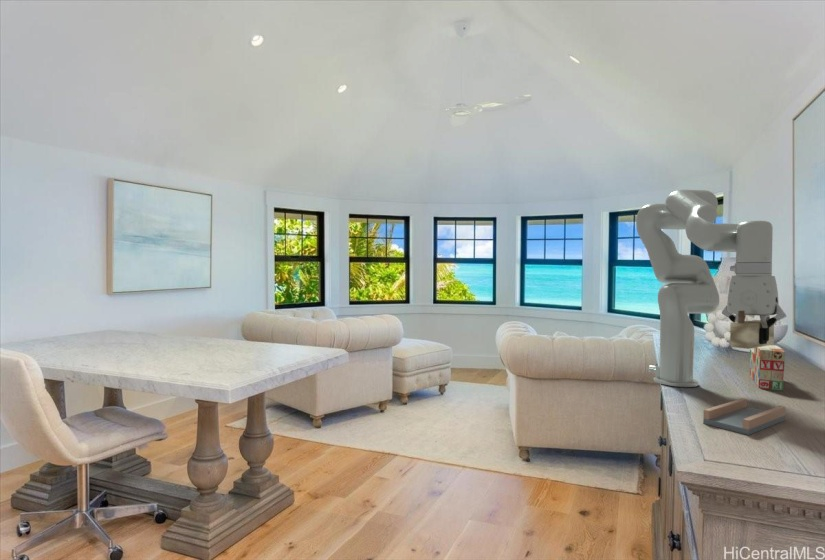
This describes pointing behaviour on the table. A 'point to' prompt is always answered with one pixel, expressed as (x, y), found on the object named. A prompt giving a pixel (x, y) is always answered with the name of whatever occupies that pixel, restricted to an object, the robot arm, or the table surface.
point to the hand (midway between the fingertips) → (752, 341)
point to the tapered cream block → (747, 333)
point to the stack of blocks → (767, 367)
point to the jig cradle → (742, 417)
